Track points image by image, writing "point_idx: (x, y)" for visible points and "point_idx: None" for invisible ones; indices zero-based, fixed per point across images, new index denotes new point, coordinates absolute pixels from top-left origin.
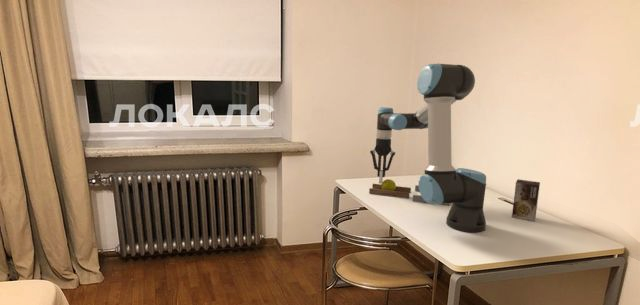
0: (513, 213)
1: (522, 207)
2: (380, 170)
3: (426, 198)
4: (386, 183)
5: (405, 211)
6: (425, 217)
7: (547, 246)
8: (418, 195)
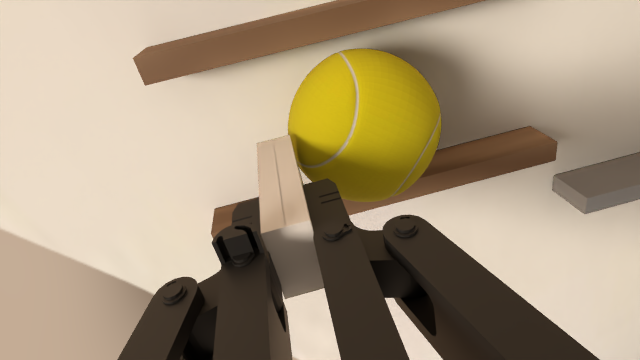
0: None
1: None
2: (275, 260)
3: None
4: (364, 201)
5: None
6: (600, 350)
7: None
8: (625, 195)
